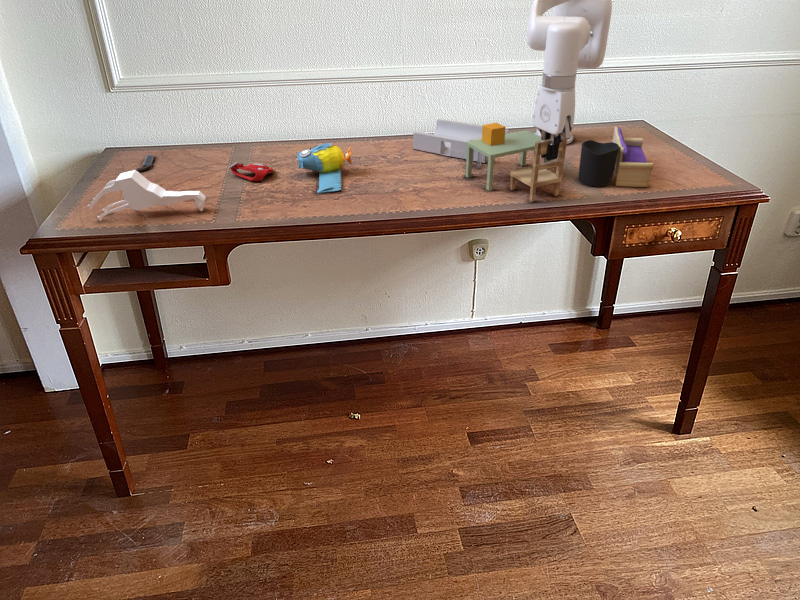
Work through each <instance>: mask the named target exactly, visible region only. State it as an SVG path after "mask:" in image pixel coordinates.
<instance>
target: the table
mask: <svg viewBox="0 0 800 600" xmlns="http://www.w3.org/2000/svg"><path fill="white" fill-rule="evenodd" d="M534 133H535V132H532V131H530V130H528V129H524V130H520V131H515V132H509V134H505V141H504V143H502V144H497V145H492V146H490V145H488V144H486V143H484V142H482V139H477V140H472V141H467V142H466V145H467V157H466V159H465V178H467V179H469V178H472V173H473V165H472V155H473V149H474V150H476V151H478V152H479V153H481V154H483V155H485V157H486V156H487V157H488V161H487V171H486V172H487V173H486V186H485V189H486V191H488V192H490V191H493V188H494V187H493V185H494V173H495V172H494V171H495V159H497V158H500V157H506V156H511V155H515V154H520V157H519V166H521V167H525V166H526V165H527V153H528V152H529V151H534V147H535V142H537V141H542V140H541V136H538V135H536V134H534ZM550 161H551V160H549V161H548V160H546V158H543V163H546V162H550ZM547 170H549V171H550V168H547Z"/></svg>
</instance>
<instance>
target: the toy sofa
mask: <svg viewBox="0 0 800 600" xmlns="http://www.w3.org/2000/svg"><path fill="white" fill-rule="evenodd" d="M611 142H613V143H616V144H618V145H619V150H618V155H617V159H616V164H615V168H614V170H615V172H616V177H615V182H614V183H615V184H614V186H615V187H634V188H648V187H649V186H650V181H651V176H652V170H653V168H654V163H653V162H648V160H647V158H646V154H645V152H644V150H643V143H644V138H642V137H624V135H623V132H622V128H621V127H620V126H614V130H613V137H612V139H611Z"/></svg>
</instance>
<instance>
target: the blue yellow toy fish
mask: <svg viewBox="0 0 800 600" xmlns="http://www.w3.org/2000/svg"><path fill="white" fill-rule="evenodd" d="M351 149H352V146H350V147H349V148H348V149H347V150H346V153H345V154H344V152H343V150H342V149H341V148H340V147H339V146H338V145H333V143H331V142H326V143H321V144H319V145H318V144H316V145H315V146H314V147H308V148H306V149H303V150H301V151H300V152H299V151H298V152H297V153H296V158H297V165H298V168H299V169H302V170H308V171H313V172H319V173H318V175H319V176H318V189H317V190H316V193H317V194H323V193H324V194H327V193H328V194H329V193H333V192H338V191H342V188H343V186H342V167H343V166H344V164H345V161H346V162H347V163H349V164H350V165H353V163H352V162H353V161H352V150H351Z"/></svg>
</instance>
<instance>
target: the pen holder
mask: <svg viewBox="0 0 800 600" xmlns="http://www.w3.org/2000/svg"><path fill="white" fill-rule="evenodd" d="M618 150H619V145H618V144H616V143H613V142H612V141H610V142H609V141H608V142H598V141H596V140H593V139H588V140H584V141H582V142H581V149H580V157H579V167H578V178H577V179H578V181H579V182H580V183H581V184H582V185H585V186H586V187H594V188H601V187H602V188H603V187H606V186H608V185H610V184H612V180H613V176H614V172H615V164H616V159H617V155H618Z"/></svg>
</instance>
